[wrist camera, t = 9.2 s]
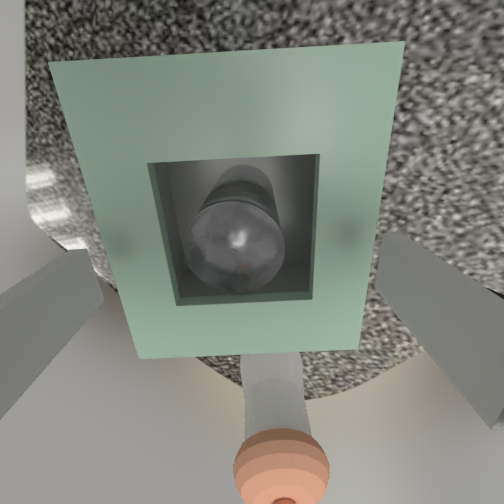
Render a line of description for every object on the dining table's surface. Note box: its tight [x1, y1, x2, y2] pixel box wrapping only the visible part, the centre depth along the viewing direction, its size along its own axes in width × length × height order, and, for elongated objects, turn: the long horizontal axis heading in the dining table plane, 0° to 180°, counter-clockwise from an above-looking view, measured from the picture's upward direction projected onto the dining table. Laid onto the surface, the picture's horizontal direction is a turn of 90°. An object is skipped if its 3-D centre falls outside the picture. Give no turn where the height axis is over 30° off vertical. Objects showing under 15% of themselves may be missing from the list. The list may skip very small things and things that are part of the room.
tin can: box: [183, 165, 285, 293], centre depth 21 cm, size 6×6×12 cm
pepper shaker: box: [233, 352, 329, 504], centre depth 25 cm, size 7×7×19 cm
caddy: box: [48, 41, 405, 359], centre depth 21 cm, size 18×16×13 cm
